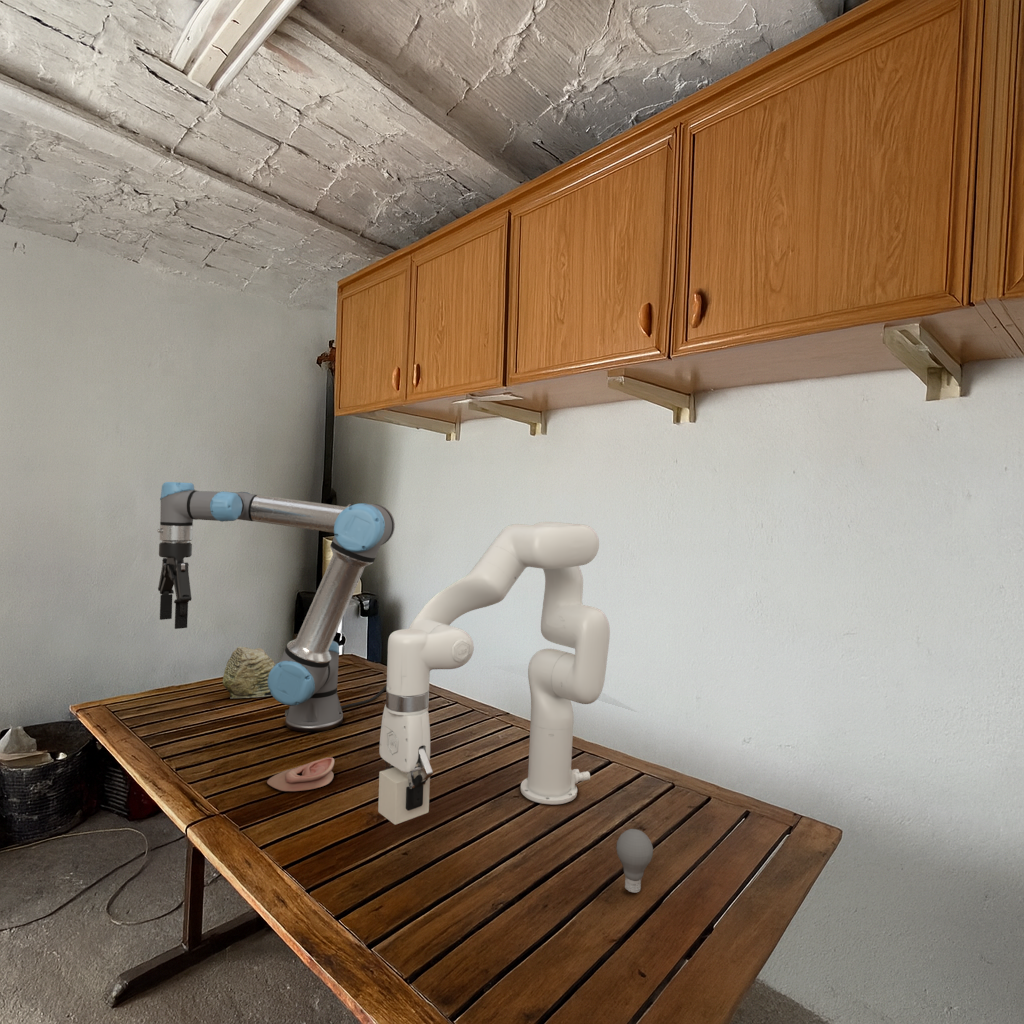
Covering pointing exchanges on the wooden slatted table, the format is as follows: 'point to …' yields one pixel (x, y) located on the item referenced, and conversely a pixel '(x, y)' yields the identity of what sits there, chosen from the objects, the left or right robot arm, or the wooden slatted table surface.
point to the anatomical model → (304, 776)
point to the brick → (399, 796)
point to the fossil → (248, 673)
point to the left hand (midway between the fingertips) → (173, 623)
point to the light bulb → (634, 857)
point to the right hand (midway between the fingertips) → (404, 799)
